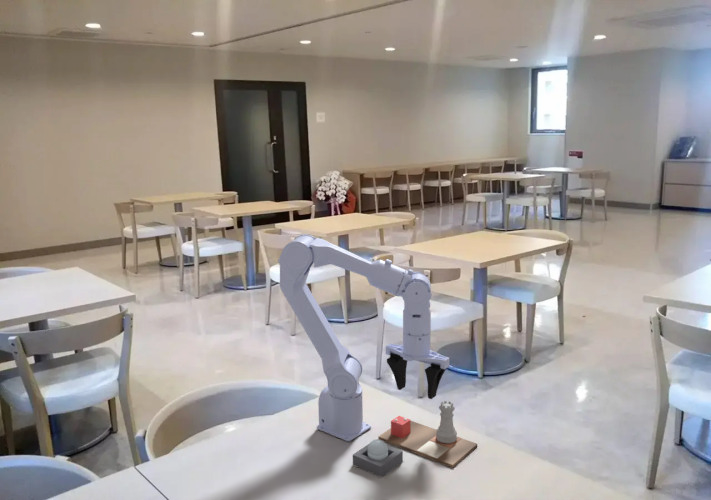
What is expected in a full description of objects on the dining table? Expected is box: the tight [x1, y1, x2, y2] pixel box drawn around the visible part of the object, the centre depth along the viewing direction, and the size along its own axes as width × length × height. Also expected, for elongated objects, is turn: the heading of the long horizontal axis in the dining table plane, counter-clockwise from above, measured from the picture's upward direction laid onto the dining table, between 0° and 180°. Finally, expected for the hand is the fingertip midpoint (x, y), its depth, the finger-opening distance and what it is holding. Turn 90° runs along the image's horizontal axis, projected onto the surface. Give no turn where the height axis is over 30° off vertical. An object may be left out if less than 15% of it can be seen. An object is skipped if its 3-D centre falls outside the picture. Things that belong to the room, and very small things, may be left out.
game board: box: [377, 420, 478, 469], centre depth 123 cm, size 18×10×1 cm, turn 51°
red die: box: [390, 415, 412, 438], centre depth 126 cm, size 3×3×3 cm
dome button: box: [368, 438, 388, 462], centre depth 115 cm, size 4×4×4 cm
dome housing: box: [352, 442, 404, 478], centre depth 116 cm, size 7×7×2 cm
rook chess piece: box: [436, 400, 458, 444], centre depth 122 cm, size 4×4×8 cm
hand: (416, 392), depth 125 cm, fingers open, 7 cm apart
